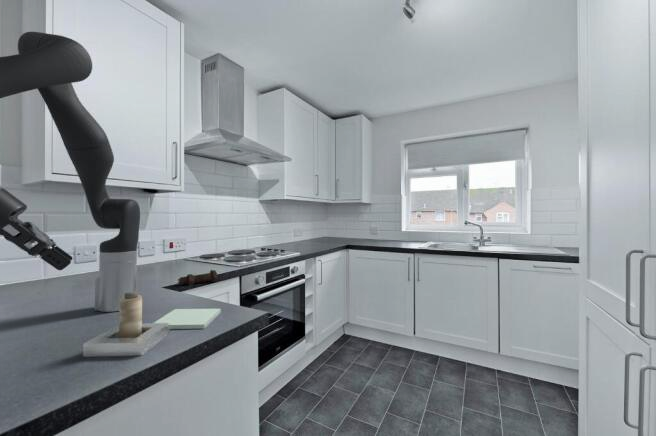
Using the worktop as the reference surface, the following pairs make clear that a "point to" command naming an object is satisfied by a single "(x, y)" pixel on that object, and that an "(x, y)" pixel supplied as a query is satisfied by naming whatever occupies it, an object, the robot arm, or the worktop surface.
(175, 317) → the set down board
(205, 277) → the bolt
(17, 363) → the worktop surface
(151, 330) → the grey square frame
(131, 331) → the key peg
